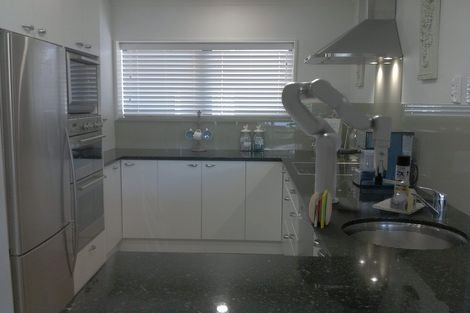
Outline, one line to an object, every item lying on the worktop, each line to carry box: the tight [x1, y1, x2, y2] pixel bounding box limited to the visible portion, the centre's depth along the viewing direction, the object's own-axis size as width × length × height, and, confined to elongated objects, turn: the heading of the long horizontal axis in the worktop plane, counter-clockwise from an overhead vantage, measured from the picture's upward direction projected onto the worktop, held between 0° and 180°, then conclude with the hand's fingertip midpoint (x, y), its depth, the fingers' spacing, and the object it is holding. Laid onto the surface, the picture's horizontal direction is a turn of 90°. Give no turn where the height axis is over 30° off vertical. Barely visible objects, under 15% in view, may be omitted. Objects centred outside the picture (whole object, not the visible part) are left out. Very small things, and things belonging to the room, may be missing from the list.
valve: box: [372, 186, 425, 215], centre depth 192 cm, size 20×16×10 cm
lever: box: [372, 177, 410, 187], centre depth 194 cm, size 16×4×2 cm, turn 50°
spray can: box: [393, 154, 411, 194], centre depth 219 cm, size 7×7×20 cm
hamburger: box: [308, 190, 333, 229], centre depth 163 cm, size 12×8×12 cm
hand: (378, 184), depth 191 cm, fingers closed
